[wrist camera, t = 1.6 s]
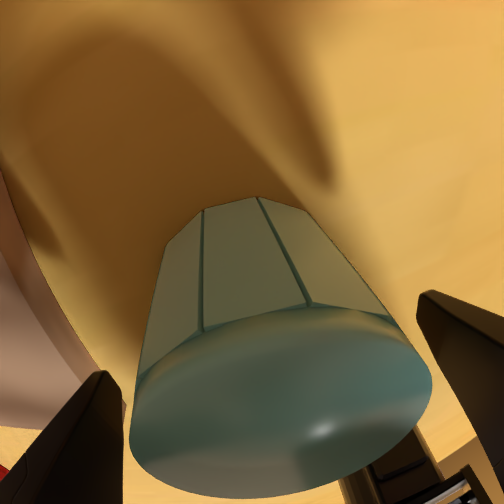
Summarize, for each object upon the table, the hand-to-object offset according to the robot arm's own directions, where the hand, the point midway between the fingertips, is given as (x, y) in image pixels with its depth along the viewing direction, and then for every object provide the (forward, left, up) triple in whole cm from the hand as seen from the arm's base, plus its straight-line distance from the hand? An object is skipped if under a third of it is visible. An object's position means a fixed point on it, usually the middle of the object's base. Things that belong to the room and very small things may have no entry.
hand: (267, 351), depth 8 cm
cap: (0, 0, -3) cm, 3 cm away
